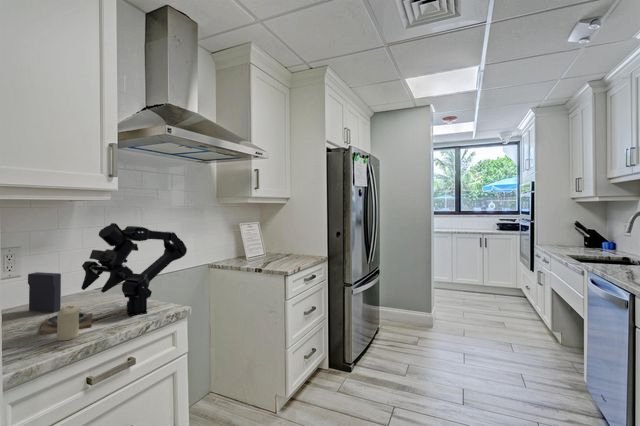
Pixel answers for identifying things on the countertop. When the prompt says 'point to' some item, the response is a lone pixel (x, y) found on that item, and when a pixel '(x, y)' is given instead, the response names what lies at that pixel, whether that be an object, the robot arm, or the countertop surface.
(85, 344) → the countertop surface
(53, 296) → the navy upright box
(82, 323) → the dock
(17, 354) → the countertop surface
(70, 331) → the candle
